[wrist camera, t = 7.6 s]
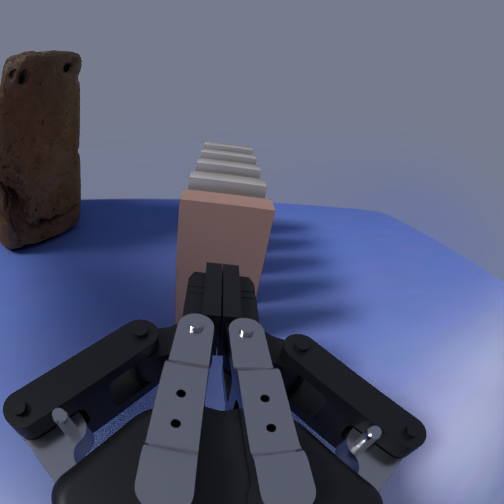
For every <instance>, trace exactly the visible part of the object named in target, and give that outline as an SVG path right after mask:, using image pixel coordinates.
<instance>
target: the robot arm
mask: <svg viewBox="0 0 504 504" xmlns="http://www.w3.org/2000/svg"><path fill="white" fill-rule="evenodd" d="M217 342H218V343H217ZM216 350H217V355H220V356H223V365H222V380H223V390H224V399H225V411H218V410H214V409H211V408H208V407H205V399H206V391H207V383H208V375H209V368H210V367H211V363H212V355H216ZM158 384H159V386H158V390H157V394H156V399H155V403H154V407H153V409H150V410H147V411H144V412H142V413H140V414H138V415H137V416H135V417H134V418H133V419H131V420H130V421H129V422H128V423H126V424H125V425H124V426H123V427H122V428H120V429H119V430H118V431H117V432H116V433H114V434H113V435H112V436H111V437H109V438H108V439H107V440H106V441H105V442H103V443H102V444H101V445H100V446H98V447H97V448H96V449H95V450H93V451H92V452H91V453H89V454H88V455H87V456H86V454H87V453H88V452H89V451H90V450H91V449H92V447H93V445H94V435H93V433H94V432H95V431H97V430H98V429H99V428H101V427H102V426H104V425H105V424H106V423H108V422H109V421H110V420H112V419H113V418H114V417H116V416H117V415H119V414H120V413H121V412H123V411H124V410H125V409H127V408H128V407H129V406H131V405H132V404H133V403H135V402H136V401H137V400H138V399H140V398H141V397H142V396H144V395H145V394H146V393H148V392H149V391H150V390H152V389H153V388H154V387H155V386H157V385H158ZM291 411H292V412H293V413H295V414H296V415H297V416H298V417H299V418H300V419H301V420H302V421H304V422H305V423H306V424H307V425H308V426H309V427H311V428H312V429H313V430H314V431H315V432H317V433H318V434H319V435H320V436H321V437H322V438H324V439H325V440H326V441H327V442H329V443H330V444H331V445H332V446H333V447H335V448H336V451H335V453H336V455H335V454H334V453H333V452H332V451H331V450H329V449H328V448H327V447H326V446H325V445H324V444H323V443H321V442H320V441H319V440H318V439H317V438H316V437H315V436H314V435H313V434H311V433H310V432H309V431H308V430H307V429H306V428H305V427H304V426H303V425H301V424H300V423H298V422H297V421H295V420H293V417H292V414H291ZM3 413H4V417H5V419H6V420H7V422H8V423H9V424H10V425H11V426H12V427H13V428H14V429H15V430H16V432H17V433H18V435H19V436H20V437H21V438H22V439H23V440H24V441H25V442H27V443H28V444H29V446H30V447H31V449H32V451H33V452H34V454H35V455H36V457H37V458H38V460H39V461H40V462H41V464H42V465H43V467H44V468H45V470H46V471H47V472H48V474H49V475H50V476H51V478H52V479H53V480H54V482H55V485H54V487H53V490H52V504H383V501H382V498H381V495H380V494H379V491H380V489H381V488H382V487H383V485H384V484H385V483H386V481H387V480H388V479H389V477H390V476H391V474H392V473H393V472H394V470H395V469H396V467H397V466H398V464H399V463H400V461H401V460H402V459H403V458H405V457H406V456H408V455H409V454H410V453H412V452H413V451H414V450H416V449H417V448H418V447H420V446H421V445H422V444H423V443H424V441H425V439H426V430H425V427H424V425H423V424H422V423H421V421H419V420H418V419H417V418H415V417H414V416H413V415H411V414H410V413H409V412H407V411H406V410H404V409H403V408H402V407H400V406H399V405H398V404H396V403H395V402H394V401H392V400H391V399H389V398H388V397H387V396H385V395H384V394H383V393H381V392H380V391H379V390H377V389H376V388H375V387H373V386H372V385H371V384H369V383H368V382H367V381H365V380H364V379H363V378H362V377H360V376H359V375H358V374H356V373H355V372H354V371H352V370H351V369H350V368H348V367H347V366H346V365H345V364H343V363H342V362H341V361H339V360H338V359H337V358H335V357H334V356H333V355H332V354H330V353H329V352H328V351H326V350H325V349H324V348H323V347H321V346H320V345H319V344H318V343H316V342H315V341H314V340H312V339H311V338H310V337H308V336H305V335H302V334H293V335H290V336H288V337H287V338H286V339H285V340H283V339H280V338H276V337H273V336H271V335H269V334H267V333H266V332H265V331H264V329H263V327H262V326H261V325H260V324H259V318H258V310H257V302H256V294H255V286H254V283H253V282H252V281H251V279H250V278H249V277H243V276H240V275H239V265H230V264H223V268H222V264H220V263H211V262H207V265H206V273H203V272H194V273H193V274H192V275H191V276H190V277H189V279H188V285H187V291H186V297H185V303H184V309H183V315H182V318H181V319H180V320H179V322H178V323H177V324H175V325H174V326H171V327H167V328H160V329H157V327H156V326H155V325H154V324H153V323H151V322H149V321H146V320H135V321H131V322H129V323H128V324H126V325H124V326H123V327H121V328H119V329H118V330H116V331H114V332H113V333H111V334H109V335H108V336H106V337H104V338H103V339H101V340H100V341H98V342H96V343H95V344H93V345H91V346H90V347H88V348H86V349H85V350H83V351H81V352H80V353H78V354H76V355H75V356H73V357H72V358H70V359H68V360H67V361H65V362H63V363H62V364H60V365H58V366H57V367H55V368H53V369H52V370H50V371H48V372H47V373H45V374H44V375H42V376H40V377H39V378H37V379H35V380H34V381H32V382H30V383H29V384H27V385H26V386H24V387H22V388H21V389H19V390H17V391H16V392H14V393H12V394H11V395H10V396H9V397H8V398H7V399H6V400H5V402H4V406H3ZM85 456H86V457H85Z"/></svg>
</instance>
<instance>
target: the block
mask: <svg viewBox="0 0 504 504" xmlns="http://www.w3.org/2000/svg"><path fill="white" fill-rule="evenodd" d="M80 69H81V57H80V55H79V54H77V53H74V52H68V51H55V50H53V51H44V52H35V51H28V52H23V53H20V54H18V55H14V56H11V57H9V58H7V60H6V62H5V64H4V67H3V72H2V79H1V85H0V242H1V243H2V245H3V246H5V247H6V248H8V249H16V248H20V247H23V246H24V245H26V244H35V243H38V242H41V241H43V240H46V239H49V238H51V237H54V236H57V235H59V234H62V233H63V232H65V231H67V230H68V229H70V228H71V227H72V226H74V225H75V224H76V223H77V221H78V219H79V217H80V201H81V180H80V157H79V154H78V148H79V135H80V85H79V81H78V75H79V72H80Z"/></svg>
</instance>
